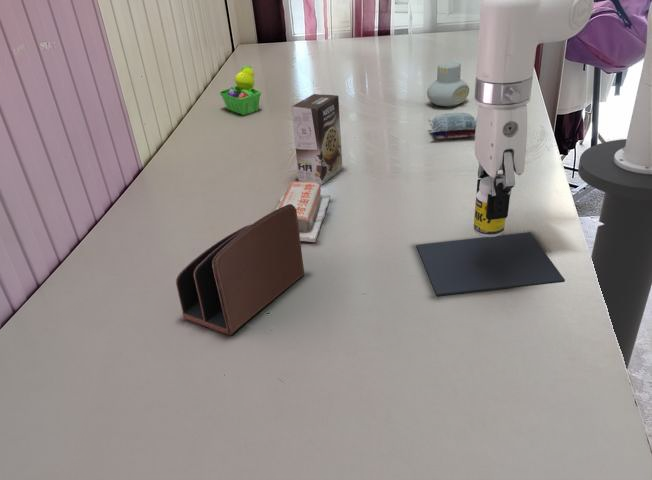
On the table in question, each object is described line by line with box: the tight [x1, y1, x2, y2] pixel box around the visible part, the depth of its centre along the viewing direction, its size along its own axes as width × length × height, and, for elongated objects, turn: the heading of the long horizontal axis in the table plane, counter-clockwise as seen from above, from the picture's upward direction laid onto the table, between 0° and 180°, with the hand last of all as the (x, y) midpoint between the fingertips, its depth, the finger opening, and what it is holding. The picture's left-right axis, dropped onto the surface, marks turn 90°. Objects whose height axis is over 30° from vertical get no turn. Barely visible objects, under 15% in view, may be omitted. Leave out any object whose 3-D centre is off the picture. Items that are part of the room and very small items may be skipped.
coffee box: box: [291, 93, 343, 186], centre depth 135 cm, size 9×6×16 cm
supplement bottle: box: [473, 176, 507, 237], centre depth 99 cm, size 5×5×8 cm
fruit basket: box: [219, 65, 262, 116], centre depth 179 cm, size 11×9×11 cm
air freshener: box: [426, 60, 470, 108], centre depth 167 cm, size 11×8×10 cm
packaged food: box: [427, 112, 477, 140], centre depth 150 cm, size 9×12×5 cm
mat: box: [416, 231, 566, 297], centre depth 105 cm, size 20×16×1 cm
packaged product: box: [275, 180, 331, 243], centre depth 122 cm, size 18×5×10 cm
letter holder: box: [175, 204, 305, 336], centre depth 100 cm, size 10×20×14 cm, turn 145°
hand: (491, 209), depth 99 cm, fingers closed on supplement bottle, 4 cm apart
